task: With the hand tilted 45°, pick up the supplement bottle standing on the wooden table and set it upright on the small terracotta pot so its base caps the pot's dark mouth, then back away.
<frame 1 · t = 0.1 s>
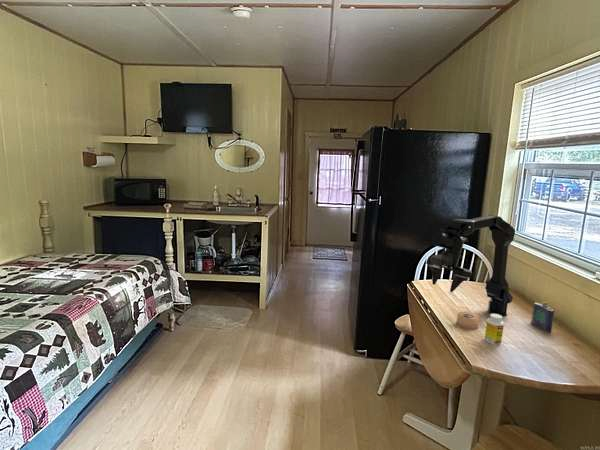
hand: (442, 288, 143), 15 cm above the table, tool pointing down, fingers open, 9 cm apart
supplement bottle: (492, 342, 133), on the table
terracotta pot: (467, 325, 146), on the table
flask: (541, 327, 146), on the table
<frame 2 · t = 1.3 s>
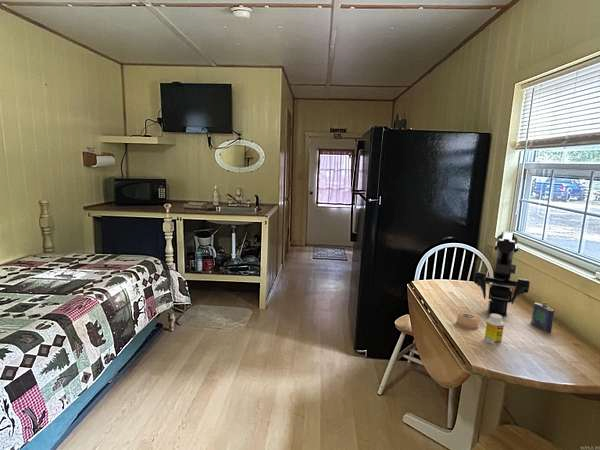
hand: (498, 301, 137), 13 cm above the table, tool tilted 45°, fingers open, 9 cm apart
nothing on the table moved.
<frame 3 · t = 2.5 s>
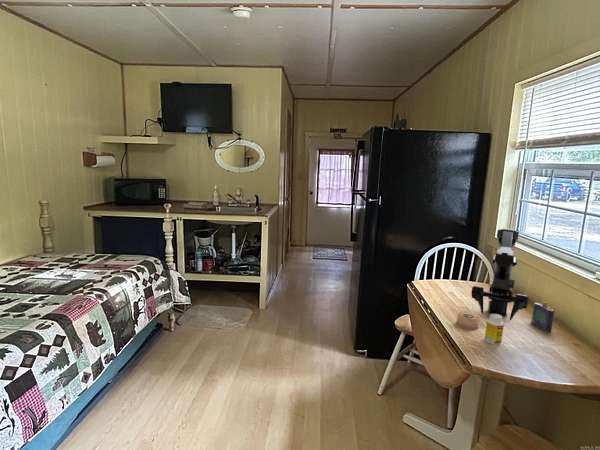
hand: (496, 317, 132), 9 cm above the table, tool tilted 45°, fingers open, 9 cm apart
nothing on the table moved.
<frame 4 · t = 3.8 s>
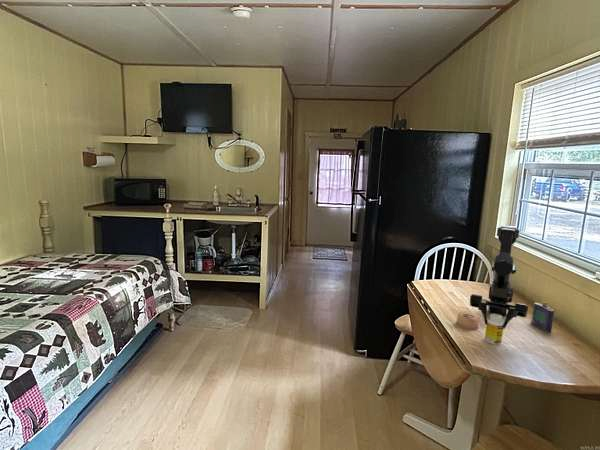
hand: (494, 326, 130), 7 cm above the table, tool tilted 45°, fingers closed on supplement bottle, 5 cm apart
supplement bottle: (492, 342, 133), on the table, touching gripper
everything else where it was.
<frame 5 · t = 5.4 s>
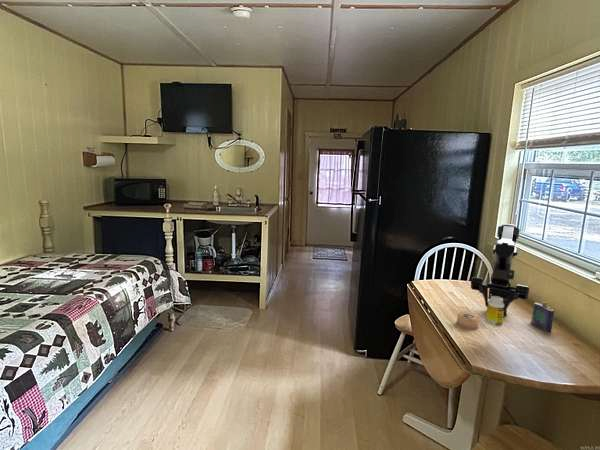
hand: (495, 308, 130), 13 cm above the table, tool tilted 45°, fingers closed on supplement bottle, 5 cm apart
supplement bottle: (493, 324, 132), point 6 cm above the table, touching gripper
everything else where it was.
when the fingers open (12 cm above the table, at t = 7.4 s): supplement bottle stays where it is, resting on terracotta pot.
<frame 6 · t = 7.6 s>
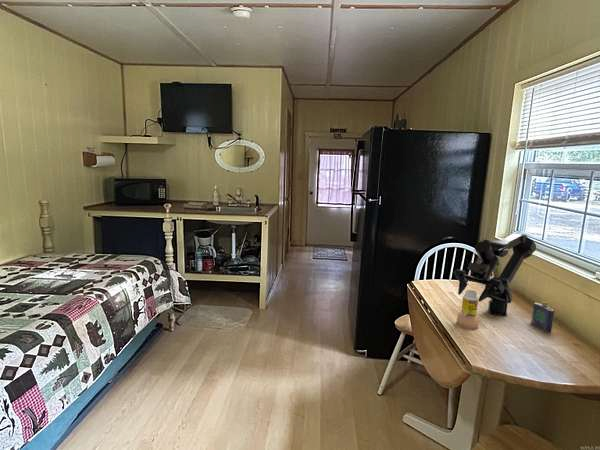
hand: (468, 297, 143), 12 cm above the table, tool tilted 45°, fingers open, 8 cm apart
supplement bottle: (468, 316, 145), point 4 cm above the table, touching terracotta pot
everything else where it was.
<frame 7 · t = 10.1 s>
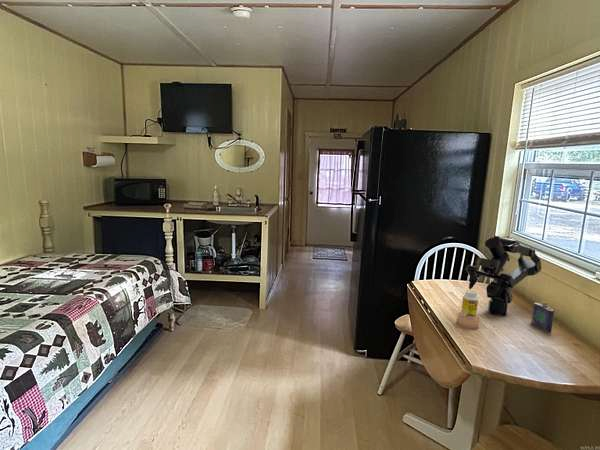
hand: (479, 292, 148), 13 cm above the table, tool tilted 45°, fingers open, 9 cm apart
nothing on the table moved.
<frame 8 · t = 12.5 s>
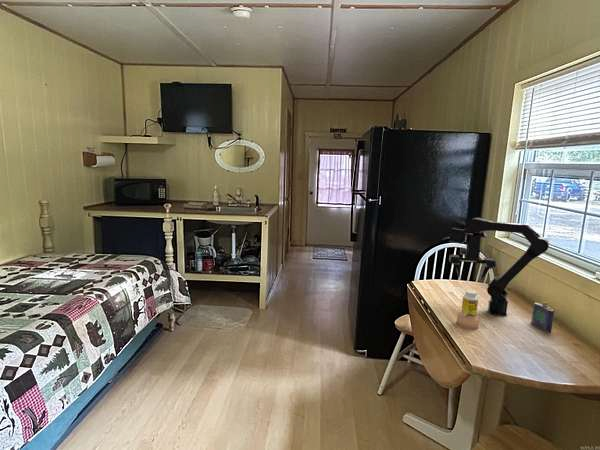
hand: (469, 278, 165), 13 cm above the table, tool pointing down, fingers open, 9 cm apart
nothing on the table moved.
at the end: supplement bottle 0.1 cm off-centre on the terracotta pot, point 3.9 cm above the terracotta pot's base; supplement bottle tilted 0°; the gripper is holding nothing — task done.
